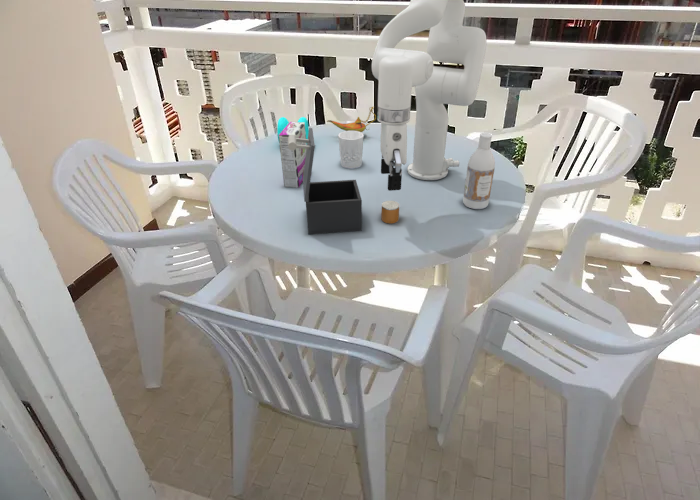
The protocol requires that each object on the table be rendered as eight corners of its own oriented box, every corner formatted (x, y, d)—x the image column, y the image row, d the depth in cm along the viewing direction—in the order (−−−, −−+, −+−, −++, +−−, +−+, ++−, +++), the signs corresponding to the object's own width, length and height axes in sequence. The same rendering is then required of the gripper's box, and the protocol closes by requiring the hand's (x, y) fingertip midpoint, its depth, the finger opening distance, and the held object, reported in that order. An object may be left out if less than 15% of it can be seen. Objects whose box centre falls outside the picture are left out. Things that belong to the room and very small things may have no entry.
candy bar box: (293, 171, 152) (289, 121, 143) (309, 172, 151) (305, 122, 142) (282, 187, 143) (277, 134, 134) (299, 188, 142) (294, 135, 133)
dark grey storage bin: (355, 208, 132) (355, 179, 127) (361, 230, 122) (361, 200, 117) (306, 211, 131) (304, 182, 126) (308, 234, 121) (306, 203, 116)
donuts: (307, 151, 166) (305, 122, 160) (278, 151, 166) (275, 122, 160) (309, 140, 174) (308, 113, 169) (282, 140, 174) (279, 113, 169)
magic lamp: (326, 135, 178) (325, 106, 172) (373, 132, 180) (374, 103, 174) (328, 142, 172) (327, 112, 166) (377, 139, 174) (378, 108, 168)
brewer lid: (312, 128, 118) (288, 125, 117) (314, 145, 108) (289, 143, 107) (305, 181, 126) (283, 179, 124) (307, 202, 116) (283, 200, 115)
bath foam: (469, 211, 130) (479, 140, 119) (458, 199, 136) (467, 131, 124) (492, 208, 131) (505, 138, 120) (481, 196, 137) (492, 128, 126)
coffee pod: (396, 214, 129) (397, 200, 127) (400, 222, 125) (401, 208, 123) (379, 215, 129) (380, 201, 126) (382, 224, 125) (383, 209, 123)
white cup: (335, 167, 154) (334, 137, 149) (344, 158, 160) (344, 129, 155) (358, 171, 152) (358, 141, 146) (366, 161, 158) (367, 132, 152)
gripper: (418, 125, 104) (412, 196, 114) (402, 102, 119) (398, 166, 128) (384, 126, 104) (381, 197, 113) (372, 103, 118) (370, 168, 128)
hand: (390, 181), depth 121 cm, fingers open, 9 cm apart
